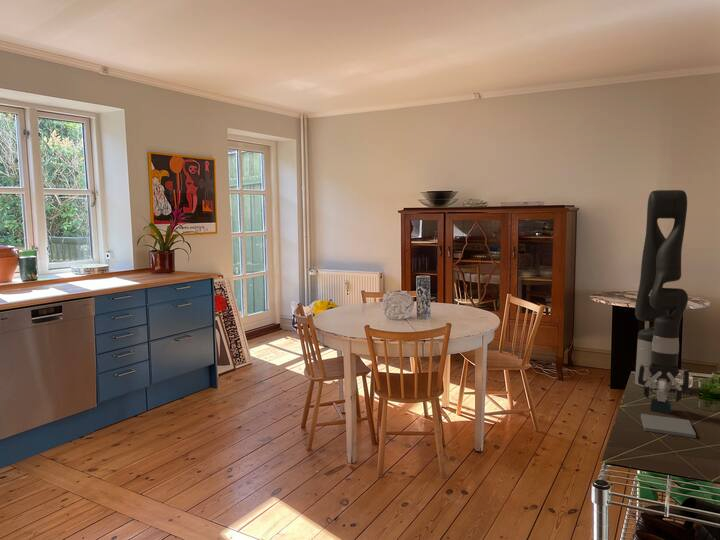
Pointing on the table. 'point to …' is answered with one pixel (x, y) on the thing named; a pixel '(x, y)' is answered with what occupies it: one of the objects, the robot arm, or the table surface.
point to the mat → (667, 425)
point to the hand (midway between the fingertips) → (661, 399)
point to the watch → (662, 397)
